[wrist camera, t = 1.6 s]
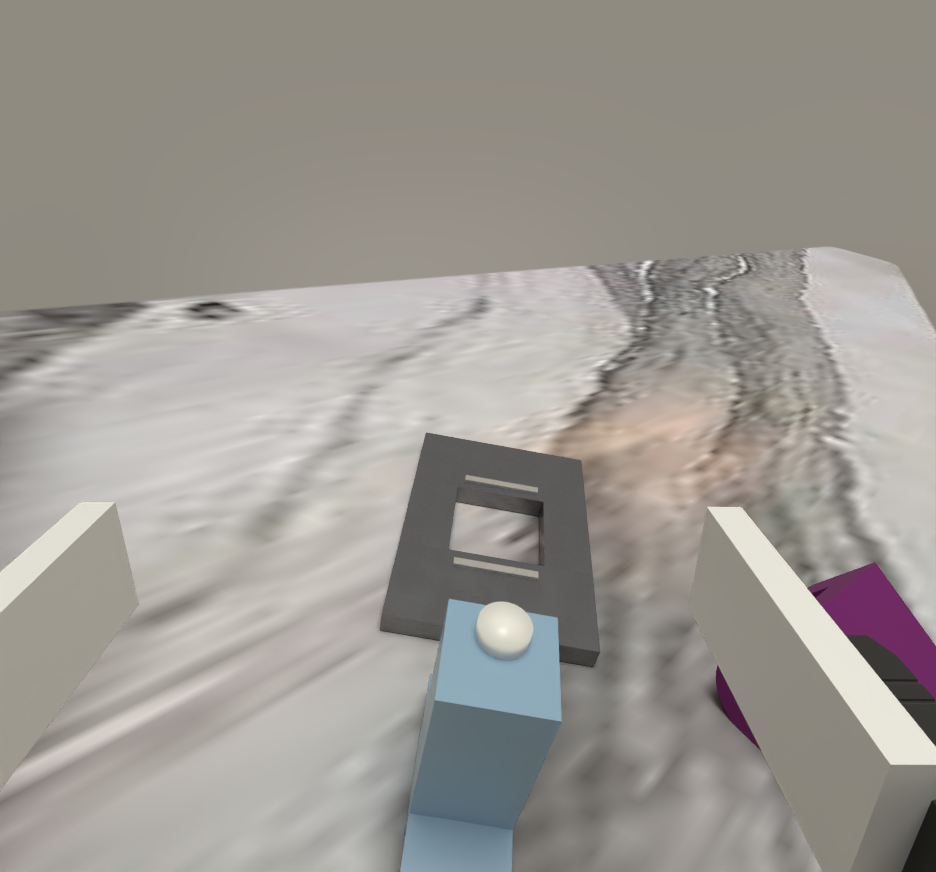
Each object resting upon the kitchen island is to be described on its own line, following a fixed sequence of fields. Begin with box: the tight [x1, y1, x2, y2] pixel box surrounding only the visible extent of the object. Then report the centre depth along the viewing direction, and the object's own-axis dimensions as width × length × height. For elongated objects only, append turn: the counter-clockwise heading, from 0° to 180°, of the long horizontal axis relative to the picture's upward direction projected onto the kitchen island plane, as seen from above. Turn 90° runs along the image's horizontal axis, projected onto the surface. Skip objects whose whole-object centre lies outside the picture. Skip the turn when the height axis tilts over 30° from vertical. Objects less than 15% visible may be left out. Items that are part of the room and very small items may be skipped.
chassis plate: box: [380, 433, 600, 667], centre depth 49 cm, size 20×14×2 cm
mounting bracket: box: [716, 563, 936, 750], centre depth 38 cm, size 10×8×18 cm
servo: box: [400, 599, 562, 872], centre depth 30 cm, size 10×5×13 cm, turn 175°
